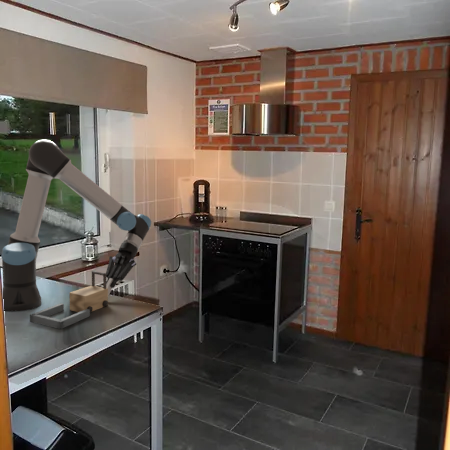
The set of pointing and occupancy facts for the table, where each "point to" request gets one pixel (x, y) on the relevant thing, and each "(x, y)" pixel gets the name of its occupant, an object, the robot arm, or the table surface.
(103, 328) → the table surface
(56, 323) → the frame
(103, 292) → the cart
